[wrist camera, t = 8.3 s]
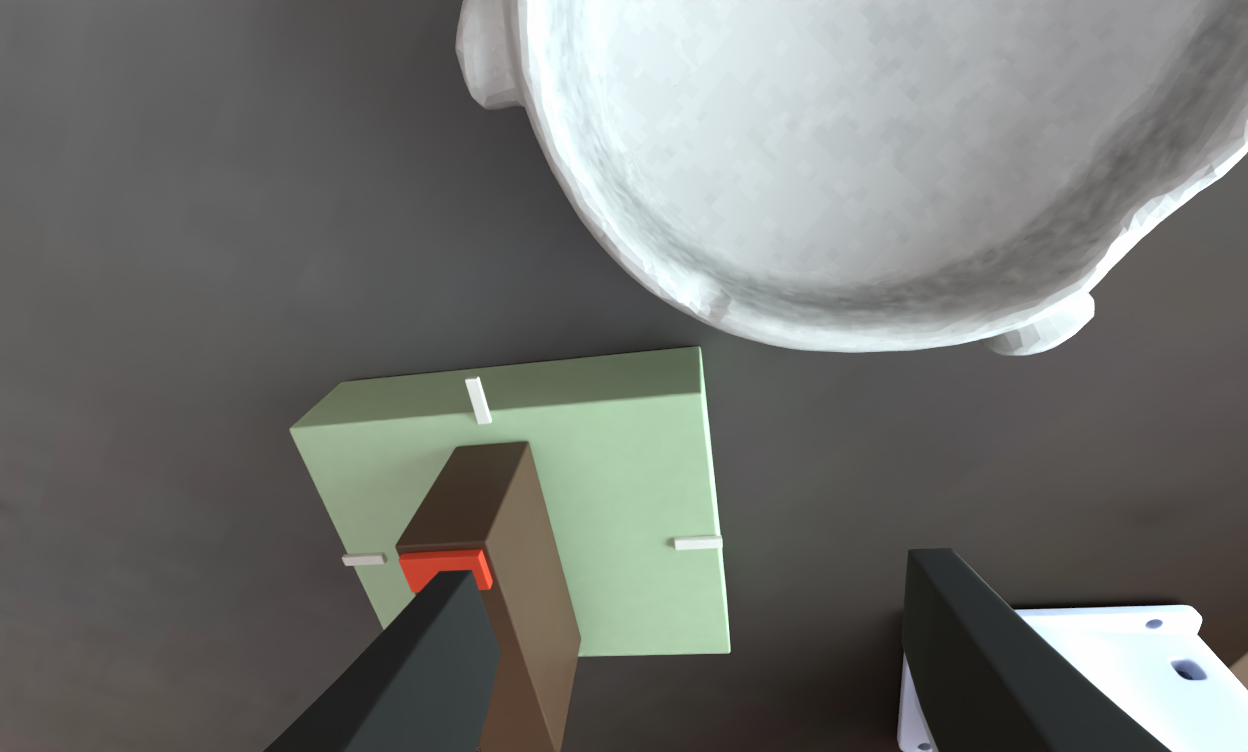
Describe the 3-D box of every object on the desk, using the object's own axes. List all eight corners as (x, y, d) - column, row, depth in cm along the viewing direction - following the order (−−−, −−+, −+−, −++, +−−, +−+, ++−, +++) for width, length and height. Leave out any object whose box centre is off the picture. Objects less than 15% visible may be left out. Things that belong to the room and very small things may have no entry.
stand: (700, 311, 17) (703, 356, 15) (730, 605, 23) (736, 680, 20) (325, 351, 19) (264, 398, 17) (435, 615, 25) (402, 685, 22)
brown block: (581, 638, 20) (557, 769, 16) (519, 640, 20) (481, 769, 17) (529, 440, 16) (483, 549, 13) (455, 446, 17) (388, 554, 13)
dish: (467, 119, 16) (380, 138, 11) (819, -663, 10) (931, -1282, 5) (886, 395, 18) (950, 500, 14) (1375, -90, 12) (1770, -182, 8)
